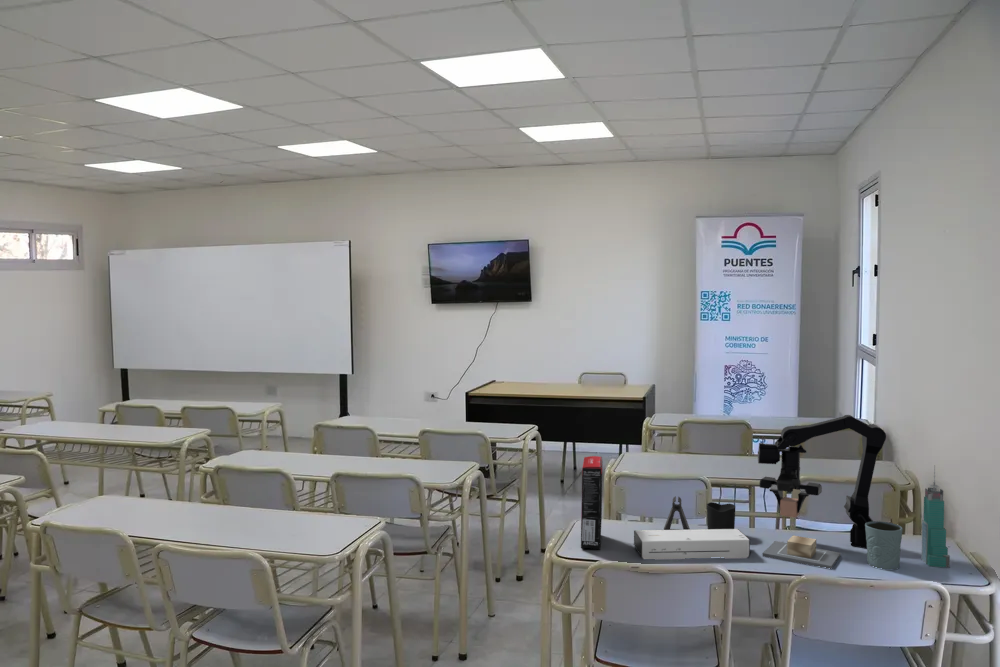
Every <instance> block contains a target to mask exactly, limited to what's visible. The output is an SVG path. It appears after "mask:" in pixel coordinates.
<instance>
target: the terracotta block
mask: <svg viewBox="0 0 1000 667" xmlns="http://www.w3.org/2000/svg"><path fill="white" fill-rule="evenodd" d="M797 506H798V498H795V497H787V496H783V498H782V499H781V500H780V507H779V515H780V516H783V517H784V516H785V517H790V518H797V517H798V516H799V515H800V512H801V511H800V512H799V513H797Z"/></svg>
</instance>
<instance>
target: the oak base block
mask: <svg viewBox="0 0 1000 667" xmlns="http://www.w3.org/2000/svg"><path fill="white" fill-rule="evenodd" d="M786 543H787V554H790V555H796V556H801V557H806V558H812V556H813V555H814V554H815V553H816V548H817V539H816V538H810V537H804V536H799V535H792V536H791V537H789V539H788V540H787V542H786Z"/></svg>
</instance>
